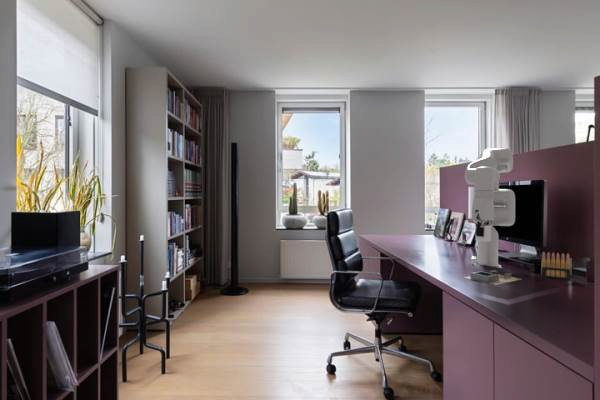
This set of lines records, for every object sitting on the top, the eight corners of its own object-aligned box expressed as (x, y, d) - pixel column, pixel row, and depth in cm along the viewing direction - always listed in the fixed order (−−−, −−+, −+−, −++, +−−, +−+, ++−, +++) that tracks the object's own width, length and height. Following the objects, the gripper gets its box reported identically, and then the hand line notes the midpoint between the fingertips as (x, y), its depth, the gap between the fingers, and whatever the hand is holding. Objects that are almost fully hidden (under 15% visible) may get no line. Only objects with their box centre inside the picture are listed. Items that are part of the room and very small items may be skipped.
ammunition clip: (541, 277, 152) (541, 251, 152) (540, 277, 154) (541, 251, 154) (570, 280, 147) (571, 253, 147) (569, 279, 149) (570, 253, 149)
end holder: (470, 278, 142) (470, 272, 142) (481, 276, 145) (481, 271, 145) (488, 282, 135) (488, 276, 135) (498, 280, 139) (498, 274, 139)
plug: (475, 240, 148) (475, 222, 148) (481, 240, 150) (481, 222, 150) (485, 241, 144) (485, 223, 144) (490, 241, 147) (491, 223, 146)
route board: (463, 280, 144) (463, 270, 144) (489, 275, 154) (490, 266, 154) (495, 288, 132) (495, 277, 132) (522, 282, 142) (522, 272, 142)
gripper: (486, 195, 155) (485, 234, 155) (464, 194, 146) (463, 236, 146) (503, 195, 148) (502, 236, 148) (481, 194, 140) (480, 237, 140)
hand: (483, 235), depth 147 cm, fingers closed on plug, 4 cm apart
